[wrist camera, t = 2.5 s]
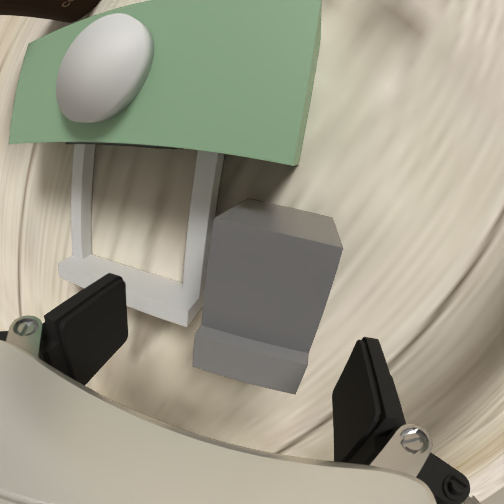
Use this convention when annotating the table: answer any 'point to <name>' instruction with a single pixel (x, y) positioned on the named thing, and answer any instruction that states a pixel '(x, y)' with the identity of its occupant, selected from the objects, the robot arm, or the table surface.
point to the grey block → (265, 293)
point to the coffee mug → (48, 8)
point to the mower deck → (170, 111)
